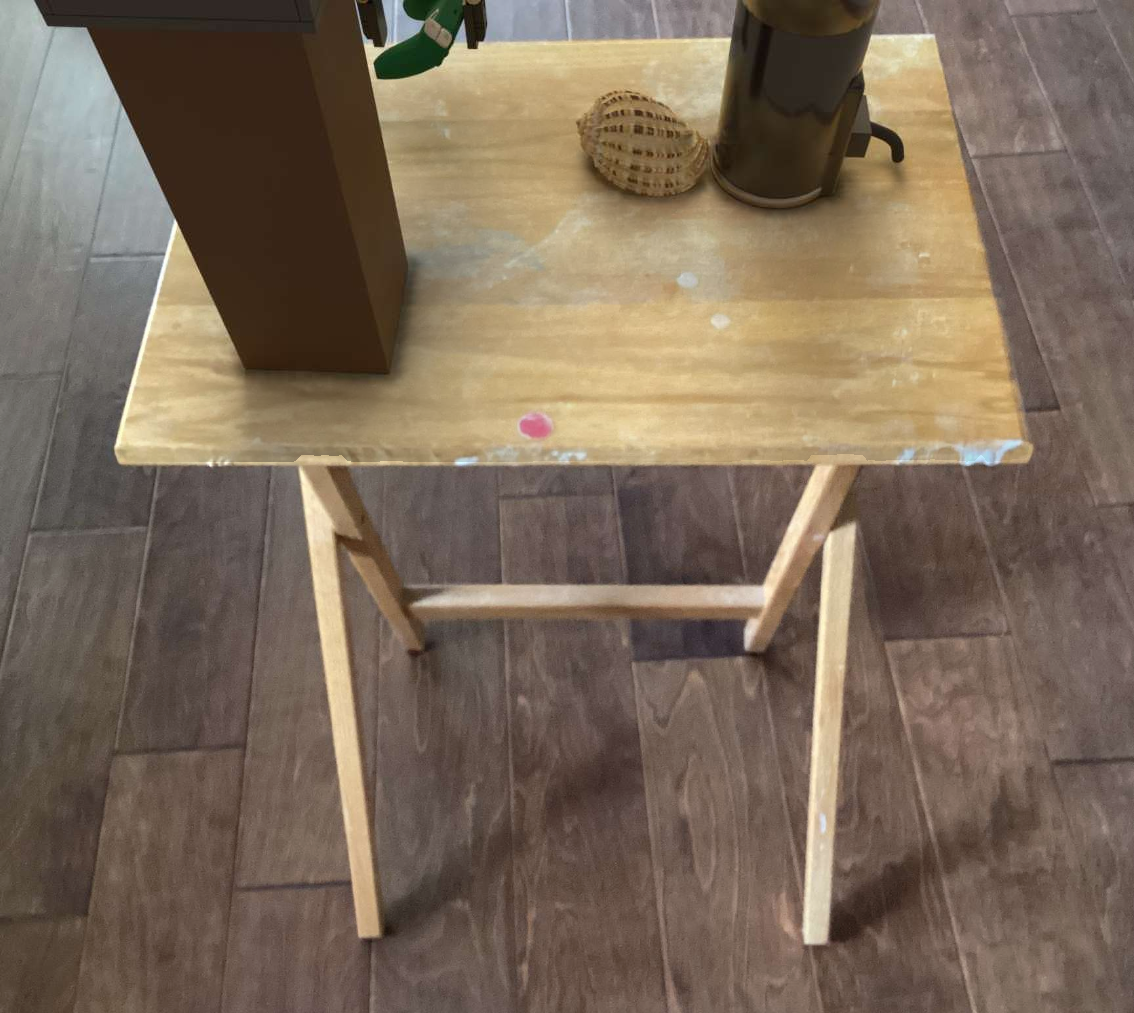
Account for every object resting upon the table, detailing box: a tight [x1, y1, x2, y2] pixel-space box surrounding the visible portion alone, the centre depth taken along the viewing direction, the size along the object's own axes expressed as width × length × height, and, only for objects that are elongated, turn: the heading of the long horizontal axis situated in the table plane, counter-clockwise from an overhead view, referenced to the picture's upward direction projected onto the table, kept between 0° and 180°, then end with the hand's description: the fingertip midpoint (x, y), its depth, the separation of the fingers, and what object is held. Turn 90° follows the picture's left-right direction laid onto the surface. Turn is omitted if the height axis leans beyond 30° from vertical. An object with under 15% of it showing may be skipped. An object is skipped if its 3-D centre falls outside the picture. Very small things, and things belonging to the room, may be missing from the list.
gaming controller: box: [372, 0, 464, 81], centre depth 72 cm, size 9×4×6 cm
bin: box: [33, 0, 409, 374], centre depth 56 cm, size 12×12×32 cm
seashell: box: [575, 89, 712, 197], centre depth 75 cm, size 8×6×10 cm
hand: (427, 41), depth 73 cm, fingers closed on gaming controller, 6 cm apart
